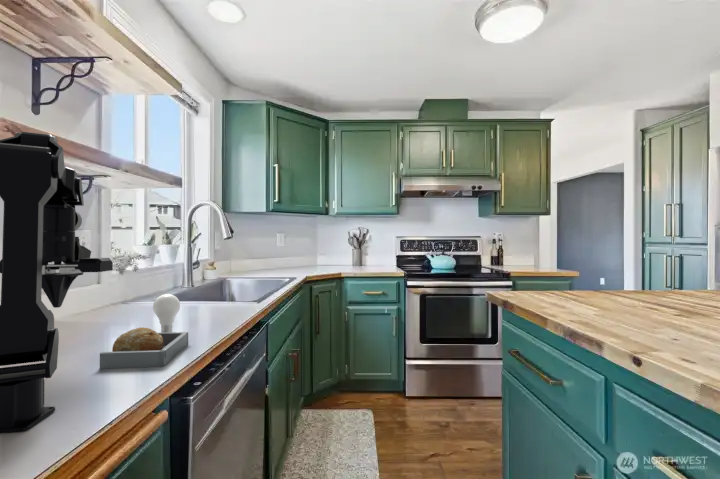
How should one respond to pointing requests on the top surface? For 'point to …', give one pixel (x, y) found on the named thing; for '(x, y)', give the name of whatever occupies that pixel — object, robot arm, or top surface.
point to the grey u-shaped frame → (147, 353)
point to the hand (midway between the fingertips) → (57, 307)
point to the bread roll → (139, 341)
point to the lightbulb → (166, 310)
